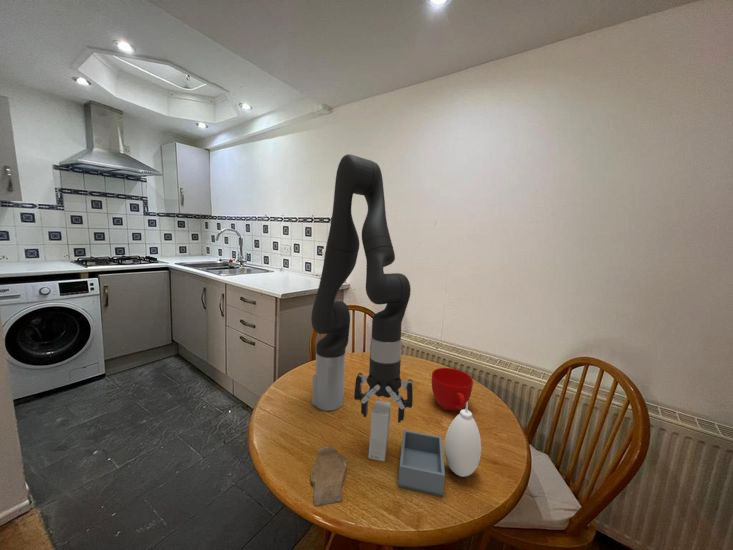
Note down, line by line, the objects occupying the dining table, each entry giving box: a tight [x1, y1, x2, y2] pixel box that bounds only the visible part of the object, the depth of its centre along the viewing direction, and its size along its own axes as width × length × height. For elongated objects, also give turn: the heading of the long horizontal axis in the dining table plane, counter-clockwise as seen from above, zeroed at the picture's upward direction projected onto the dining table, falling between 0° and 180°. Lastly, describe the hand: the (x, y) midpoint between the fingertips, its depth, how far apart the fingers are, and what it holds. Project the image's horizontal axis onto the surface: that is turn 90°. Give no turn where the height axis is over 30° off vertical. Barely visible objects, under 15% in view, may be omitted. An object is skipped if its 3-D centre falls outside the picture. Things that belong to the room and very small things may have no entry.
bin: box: [397, 429, 446, 498], centre depth 66 cm, size 10×12×5 cm
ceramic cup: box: [431, 367, 474, 412], centre depth 90 cm, size 13×17×10 cm
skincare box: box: [368, 400, 392, 462], centre depth 70 cm, size 6×4×12 cm
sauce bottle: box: [443, 400, 482, 478], centre depth 65 cm, size 8×8×18 cm
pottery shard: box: [310, 445, 347, 508], centre depth 64 cm, size 8×3×15 cm
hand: (382, 417), depth 70 cm, fingers open, 8 cm apart
